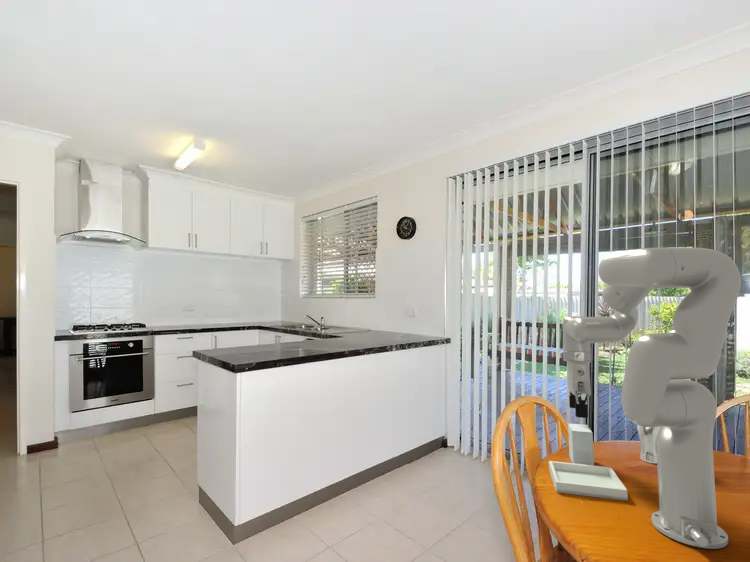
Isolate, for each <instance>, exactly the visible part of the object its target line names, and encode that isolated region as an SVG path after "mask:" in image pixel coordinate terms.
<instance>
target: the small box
mask: <svg viewBox="0 0 750 562" xmlns="http://www.w3.org/2000/svg"><path fill="white" fill-rule="evenodd" d="M567 428H568V429H567V430H568V432H567V433H568V448H569V449H568V451H569V458H570V460H571V461H570V462H571V463H574V464H584V465H594V466H595V451H594V437H593V436H594V434H593V433H594V432H592V430H591V428H590V427H589V426H588V424H582V423H581V424H579V423H567Z"/></svg>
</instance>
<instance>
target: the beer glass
mask: <svg viewBox="0 0 750 562" xmlns="http://www.w3.org/2000/svg"><path fill="white" fill-rule="evenodd" d="M636 429H637V433H638V434H637V435H638V437H639V442H640V452H639V453H640V455H639V459H640V460H641V461H643V462H646V463H649V464H652V465H653V464H654V465H657V448H656V441H657V435H658V432H659V430H660V427H644V426H639V425H637V424H636Z"/></svg>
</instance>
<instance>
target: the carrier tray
mask: <svg viewBox="0 0 750 562" xmlns="http://www.w3.org/2000/svg"><path fill="white" fill-rule="evenodd" d="M548 471H549V473H550V476H551V480H552V484H553V486H554V490H555V492H556V493H560V494H561V493H562V494H570V495H578V496H585V497H594V498H601V499H611V500H617V501H618V500H619V501H627V502H628V501H629V498H628V497H629V496H628V488H627V487H626V486H625V485H624V484H623V482H622V480H621V479H620V477H619V476H618V475H617V474H616V471H614V470H613V468H612V466H601V465H595V464H594V465H584V464H574V463H572V462H563V461H554V460H548Z"/></svg>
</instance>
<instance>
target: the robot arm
mask: <svg viewBox="0 0 750 562" xmlns="http://www.w3.org/2000/svg"><path fill="white" fill-rule="evenodd" d="M597 272H598V276H599V278H600V280H601V282H602V283H604V284H605V285H606V286H605V287H604V288H603V290H602V293H601V296H602V300H603V301H604V303H605V304H606V305H607V306H608V307H609V308H611V309H612V310H613V311H615V312H614V313H613V314H612V315H611V316H578V315H573V316H572V315H571V316H570V315H568V316H565V317H564V318H563V319H562V347H563V348H562V349H563V350H562V352H563V353H562V355H563V357H562V358H563V361H564V362H566V363H567V364H566V367H567V370H566V371H567V372H566V373H567V375H566V376H567V387H568V391H569V395H568V397H569V400H568V401H569V402H568V404H569V406H568V407H569V408H570V409H575V417H576V418H583V419H584V418H585V419H588V418H589V405H588V398H587V397H591V395H592V391H591V390H592V389H591V387H592V386H591V377H590V368H589V364H590V363H591V362H592V358H591V357H592V356H591V354H592V352H591V344H602V343H607V344H609V343H612V344H613V343H618V342H619V341H620V342H621V340H623V339H625V338H626V337H627V336H628V335H629V334H630V333H631V332H632V331H633V330H634V329H635V327H636V326H637V323H638V318H639V312H638V308H637V307H638V306H639V304H640V303H642V301H643V300H644V299H645V298H646V297H647V296H648V295H649V294H650V293H651V292H652V291H654V289H683V288H684V289H685V288H687V289H690V292H688V294H687V295H686V296H685V297H684V298H683V299H682V300H681V302H679V304H678V306H677V308H676V310H675V312H674V316H673V322H672V325H671V328H670V330H669V331H668V332H661V333H660V332H658V333H657V332H656V333H647V334H643V335H641V336H639V337H638V338H637V339H636V340H635V341H633V343H632V345H631V346H630V348H629V352H628V356H627V361H626V366H625V371H624V376H623V382H622V387H621V393H620V394H621V395H620V396H621V397H620V400H621V406H622V410H623V412H624V415H625V416H626V418H627V420H629V421H631V423H633V424H635V425H636V426H637V425H639V426H644V427H660V430H659V432H658V435H657V441H656V448H657V464H656V466H657V468H656V469H657V483H658V484H657V487H658V503H659V506H658V507H659V510H656V511H655V512H653V513H652V514H651V517H650V518H651V524H652V525H653V526H654V528H655V529H656V530H657V531H659V533H661V534H663V535H664V536H666V537H668V538H670V539H673V540H675V541H677V542H679V543H682V544H684V545H687V546H691V547H697V548H700V549H706V550H708V549H709V550H711V549H712V550H718V549H722V548H725V547H726V546H727V547H728V544H729V536H728V534H727V532H726V531H725V530H724V529H723V528H722V527H720V526H719V525H718V520H717V518H718V516H717V514H718V513H717V501H716V499H717V498H716V486H715V483H716V482H715V468H714V467H715V466H714V465H715V464H714V448H713V447H714V443H713V442H714V439H713V438H714V429H715V423H716V418H717V412H718V411H717V410H718V408H717V402H716V399H715V396H714V395H713V393H712V391H711V390H710V389H708V388H707V387H706V386H705V385H703V384H702V383H700V382H698V381H696V379H705V378H708V377H710V376H712V375H713V374H714V373H715V372H716V371H717V369H718V366H719V362H720V359H721V355H722V352H723V351H722V350H723V347H724V343H725V339H726V335H727V331H728V326H729V322H730V318H731V316H732V313H733V309H734V308H735V305H736V302H737V300H738V298H739V294H740V290H741V286H742V277H741V273H740V270H739V267H738V266H737V264H736V263H735V261H734V260H733V259H732V258H731V257H729V256H728V255H727V254H725V253H724V252H721V251H720V250H715V249H711V248H706V247H705V248H704V247H643V248H634V249H624V250H622V249H621V250H613V251H610V252H609V253H607V254H606V255H605V256H604V257H603V258H602V259H601V260H600V262H599V265H598V271H597Z"/></svg>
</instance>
